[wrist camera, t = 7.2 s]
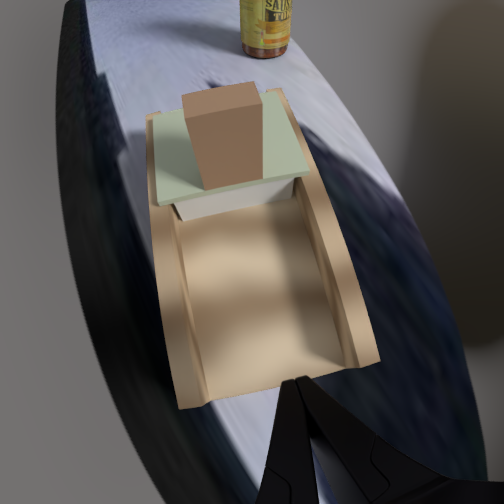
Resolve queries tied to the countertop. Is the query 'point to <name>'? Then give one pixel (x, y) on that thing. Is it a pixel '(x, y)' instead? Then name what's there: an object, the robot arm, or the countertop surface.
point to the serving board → (256, 290)
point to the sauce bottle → (265, 27)
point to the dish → (235, 199)
